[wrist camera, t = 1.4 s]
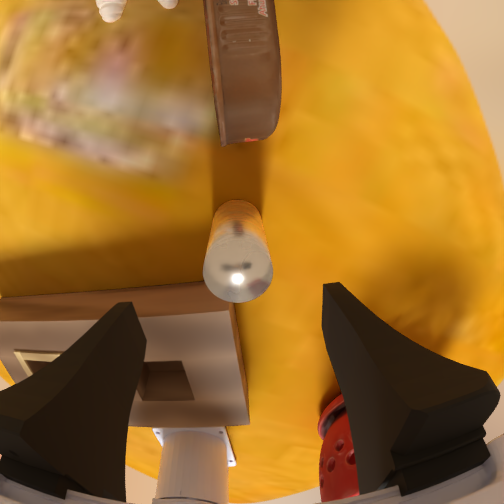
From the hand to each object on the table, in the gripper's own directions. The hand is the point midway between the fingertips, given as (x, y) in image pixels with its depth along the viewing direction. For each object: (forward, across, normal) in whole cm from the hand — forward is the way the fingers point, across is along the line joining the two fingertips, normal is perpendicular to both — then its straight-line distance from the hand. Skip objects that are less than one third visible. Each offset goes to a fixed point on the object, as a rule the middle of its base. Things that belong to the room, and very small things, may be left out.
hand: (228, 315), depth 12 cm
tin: (+12, -1, -12) cm, 17 cm away
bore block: (+9, +12, +11) cm, 18 cm away
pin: (+10, 0, +1) cm, 10 cm away
